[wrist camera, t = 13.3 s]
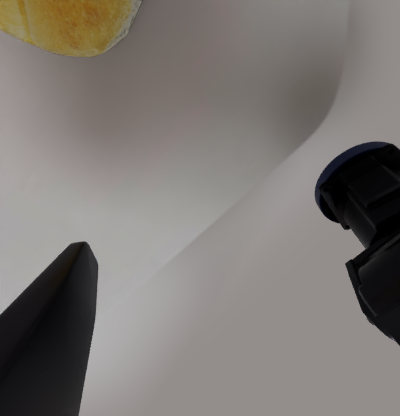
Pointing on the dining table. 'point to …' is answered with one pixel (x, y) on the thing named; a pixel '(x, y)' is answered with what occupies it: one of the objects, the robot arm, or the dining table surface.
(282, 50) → the dining table surface
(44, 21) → the bread roll
